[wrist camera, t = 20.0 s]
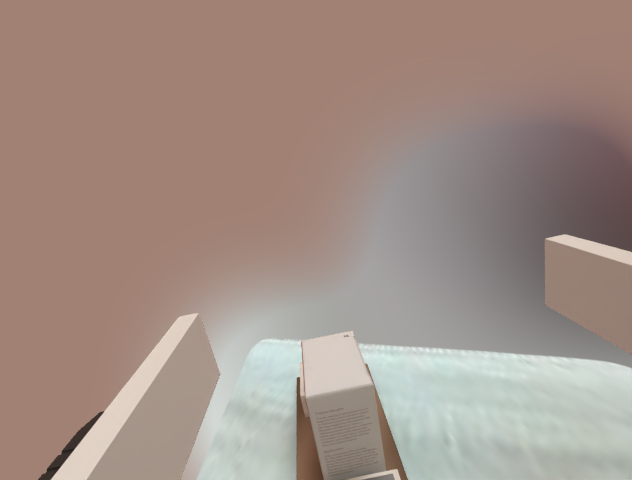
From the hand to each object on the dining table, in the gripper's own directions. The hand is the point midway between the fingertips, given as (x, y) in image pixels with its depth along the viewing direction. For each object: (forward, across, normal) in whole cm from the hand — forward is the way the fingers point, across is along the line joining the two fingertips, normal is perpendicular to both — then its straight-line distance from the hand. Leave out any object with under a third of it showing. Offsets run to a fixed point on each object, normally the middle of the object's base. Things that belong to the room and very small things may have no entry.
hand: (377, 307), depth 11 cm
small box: (+13, -3, -22) cm, 26 cm away
